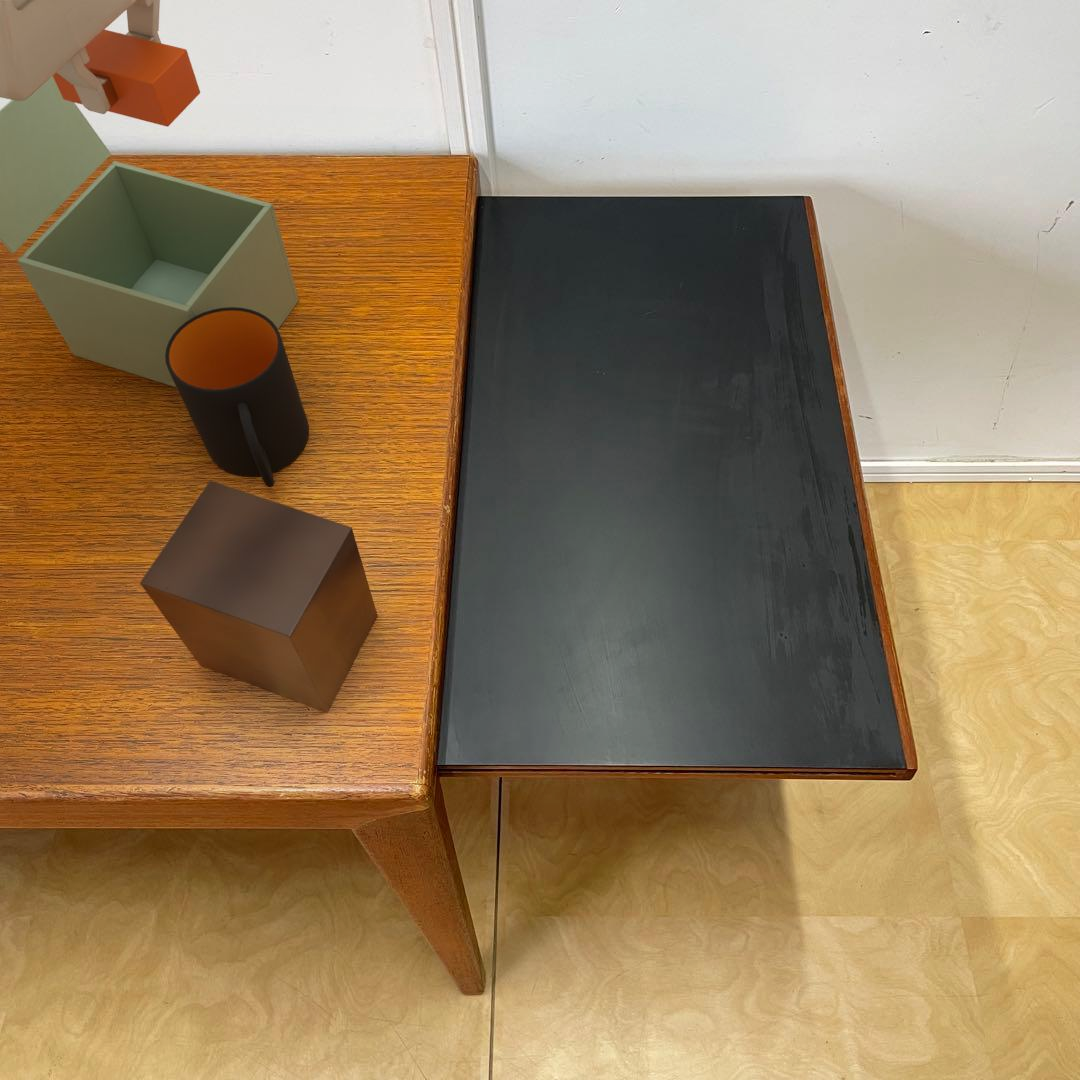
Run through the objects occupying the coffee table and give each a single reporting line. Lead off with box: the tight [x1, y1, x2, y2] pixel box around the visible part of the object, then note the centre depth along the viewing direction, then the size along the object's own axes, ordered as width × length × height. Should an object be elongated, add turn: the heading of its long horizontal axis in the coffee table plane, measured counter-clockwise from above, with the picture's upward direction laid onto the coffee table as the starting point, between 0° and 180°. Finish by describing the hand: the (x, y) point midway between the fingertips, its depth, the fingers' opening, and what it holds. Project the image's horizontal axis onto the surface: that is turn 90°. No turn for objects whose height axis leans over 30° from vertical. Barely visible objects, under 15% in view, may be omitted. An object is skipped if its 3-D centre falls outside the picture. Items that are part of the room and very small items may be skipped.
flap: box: [0, 76, 112, 254], centre depth 71 cm, size 7×13×1 cm
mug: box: [165, 307, 310, 488], centre depth 70 cm, size 8×12×10 cm
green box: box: [16, 160, 300, 389], centre depth 77 cm, size 15×13×10 cm
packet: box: [53, 29, 201, 128], centre depth 60 cm, size 8×4×3 cm, turn 70°
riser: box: [139, 480, 378, 713], centre depth 61 cm, size 10×8×12 cm
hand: (126, 83), depth 60 cm, fingers closed on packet, 4 cm apart
